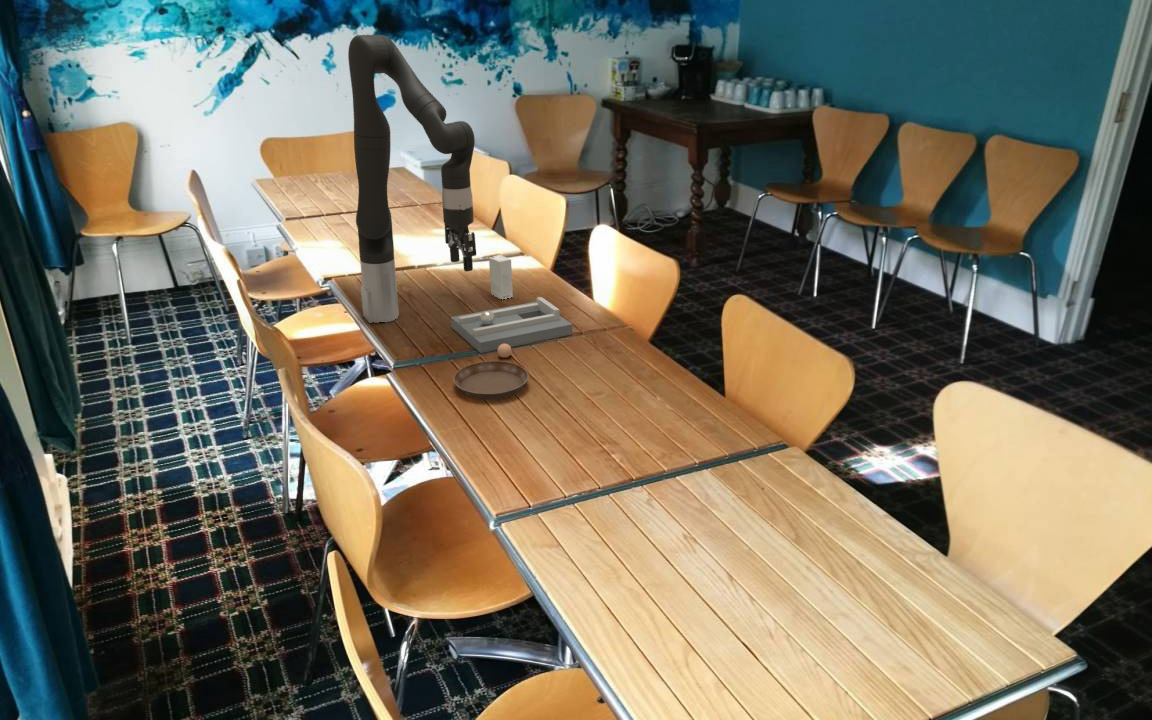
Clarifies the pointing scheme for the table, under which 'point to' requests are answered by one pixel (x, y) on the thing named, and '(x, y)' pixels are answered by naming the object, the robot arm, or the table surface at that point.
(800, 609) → the table surface
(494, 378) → the plant saucer
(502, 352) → the terracotta ball
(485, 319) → the steel ball
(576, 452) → the table surface
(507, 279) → the skincare box
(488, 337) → the slate board
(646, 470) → the table surface
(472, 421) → the table surface
